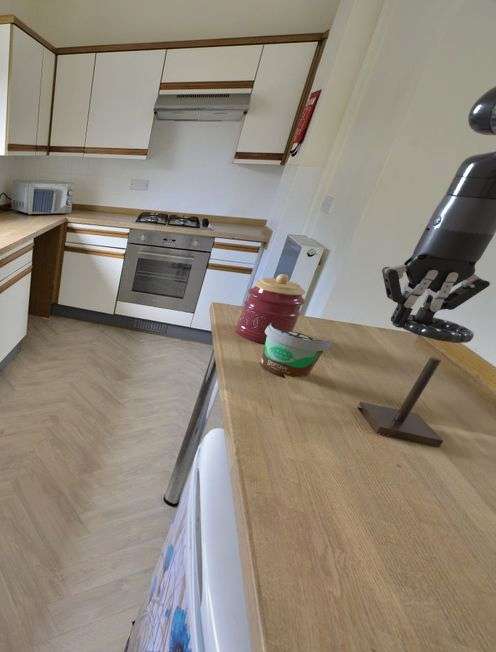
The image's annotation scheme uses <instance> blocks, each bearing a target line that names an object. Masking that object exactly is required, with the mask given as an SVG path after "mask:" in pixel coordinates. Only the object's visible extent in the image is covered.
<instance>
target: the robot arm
mask: <svg viewBox="0 0 496 652" xmlns="http://www.w3.org/2000/svg"><path fill="white" fill-rule="evenodd" d="M467 123H468V126H469V128H470V129H471V130H472V131H473V132H474V133H476V134H479V135H483V136H496V85H495V86H493V87H491V88H489V89H488V90H486V92H484V93H483V94H482V95H480V97H478V99H477V100H476V101H475V102H474V103H473V105H472V106H471V108H470V109H469V112H468V116H467ZM495 234H496V150H495V151H490V152H483V153H478V154H473V155H470V156H468V157H466V158H465V159H464V160H463V161H462V162H461V163H460V165H459V166H458V168H457V170H456V172H455V173H454V176H453V178H452V179H451V182H450V184H449V186H448V187H447V189H446V192H445V194H444V195H443V197H442V199H441V200H440V202H439V203H438V204H437V206H436V207H435V209H434V211H433V212H432V214H431V216H430V218H429V220H428V223H426V226H425V227H424V230H423V232H422V234H421V235H420V238H419V240H418V242H417V244H416V245H415V248H414V250H413V253H412V255H411V256H410V257H409V258H408V259H406V260H405V261H404V263H403V264H401V265H396V266H392V267H390V266H385V267H383V268H382V269H381V274H382V278H383V283H384V289H385V293H386V297H387V298H388V299H389V300H391V301H392V302H394V303H397V305H396V307H395V309H394V311H393V313H392V315H391V317H390V322H391V323H392V326H394V328H400V329H403V326H404V324H405V323H406V321H407V319H408V317H409V315H412V312H413V311H414V308H413V307H414V305H415V304H416V302H417V301H418V300H419V298H420V297H421V296H423V295H424V294H425V292H426V296H425V298H424V301H423V303H422V305H423V306H420V307H419V308H418V310H417V312H416V313H415V315H416V316H415V318H414V319H413V321H415V322H417V323H420V324H423V325H425V326H428V325H429V323H430V322H431V320H432V318H433V317H435V315H436V313H437V312H439V311H443V310H448V311H453V310H455V309H456V308H458V307H460V306H461V305H463V304H464V303H465V302H467V301H468V300H471V299H472V298H473V297H475V296H477V295H478V294H479V293H481V292H482V291H484V290H485V289H487V288H489V287H490V285H491V282H490V281H488V280H486V279H484V278H481V277H479V276H478V275H476V274H475V273H476V264H477V263H478V261H480V260H481V258H482V256H483V255H484V253H485V252H486V250H487V248H488V247H489V244H490V243H491V241H492V239H493V238H494V236H495ZM404 274H405V275H406V277H407V279H408V280H407V282H406V283H405V285H404V287H403V291H402V287H401V282H400V280H401V279H402V278H403V277H404ZM460 283H461V285H460V286H459V287H457V288H455V289H454V290H453V291H452V288H453V287H455V286H457V285H459V284H460Z"/></svg>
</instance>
